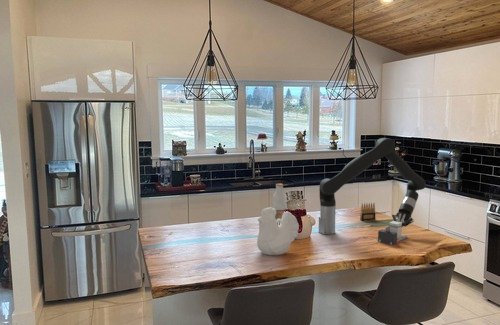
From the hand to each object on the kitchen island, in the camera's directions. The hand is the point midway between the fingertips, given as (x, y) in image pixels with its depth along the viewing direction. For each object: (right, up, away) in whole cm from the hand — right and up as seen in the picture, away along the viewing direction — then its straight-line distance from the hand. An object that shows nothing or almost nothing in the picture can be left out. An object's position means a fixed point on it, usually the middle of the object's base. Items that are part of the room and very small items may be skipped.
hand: (397, 230), depth 228 cm
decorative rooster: (-69, -9, -19) cm, 72 cm away
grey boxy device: (-4, -6, -3) cm, 8 cm away
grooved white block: (-2, -4, -2) cm, 5 cm away
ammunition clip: (-4, 0, +44) cm, 44 cm away
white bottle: (-66, -3, +31) cm, 73 cm away
